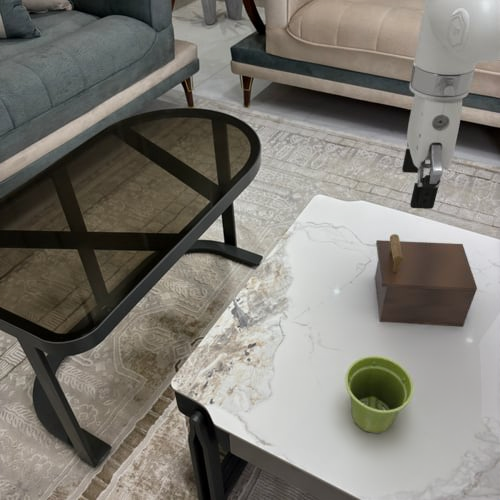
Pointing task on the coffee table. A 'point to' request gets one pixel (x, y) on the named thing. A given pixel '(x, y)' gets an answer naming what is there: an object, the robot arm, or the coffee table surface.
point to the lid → (424, 265)
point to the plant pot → (377, 391)
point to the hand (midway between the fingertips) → (416, 188)
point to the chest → (422, 305)
